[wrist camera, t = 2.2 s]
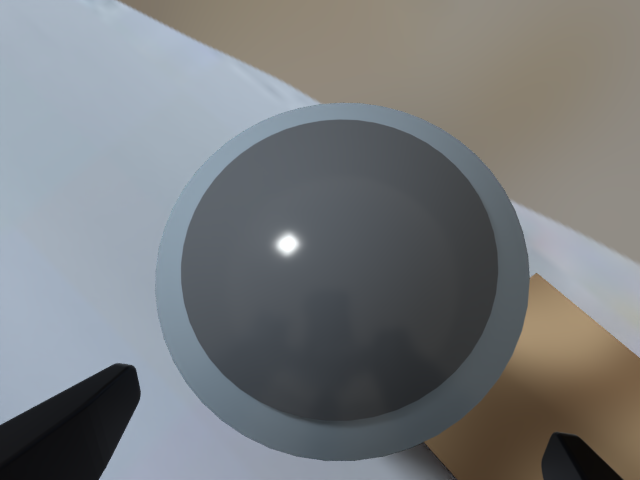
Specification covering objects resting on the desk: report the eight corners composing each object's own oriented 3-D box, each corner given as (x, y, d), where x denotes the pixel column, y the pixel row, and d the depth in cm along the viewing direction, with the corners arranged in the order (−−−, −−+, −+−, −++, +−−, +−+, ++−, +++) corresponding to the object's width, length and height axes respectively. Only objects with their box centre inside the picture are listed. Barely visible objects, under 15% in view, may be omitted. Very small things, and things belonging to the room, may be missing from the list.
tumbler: (444, 349, 18) (620, 254, 6) (348, 445, 17) (318, 579, 5) (353, 258, 20) (342, 46, 8) (262, 340, 19) (85, 244, 7)
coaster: (720, 433, 16) (733, 435, 15) (580, 616, 14) (588, 625, 14) (531, 276, 19) (536, 272, 18) (398, 413, 17) (399, 413, 17)
